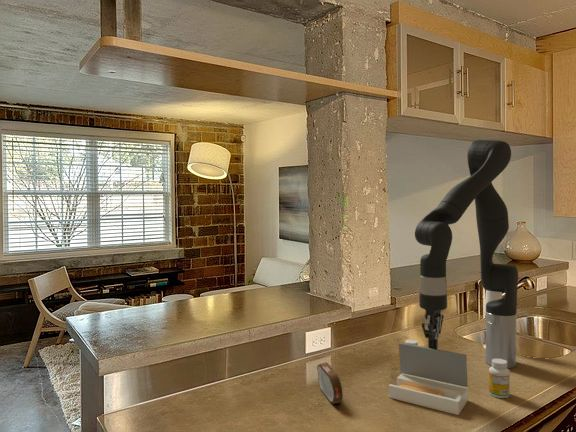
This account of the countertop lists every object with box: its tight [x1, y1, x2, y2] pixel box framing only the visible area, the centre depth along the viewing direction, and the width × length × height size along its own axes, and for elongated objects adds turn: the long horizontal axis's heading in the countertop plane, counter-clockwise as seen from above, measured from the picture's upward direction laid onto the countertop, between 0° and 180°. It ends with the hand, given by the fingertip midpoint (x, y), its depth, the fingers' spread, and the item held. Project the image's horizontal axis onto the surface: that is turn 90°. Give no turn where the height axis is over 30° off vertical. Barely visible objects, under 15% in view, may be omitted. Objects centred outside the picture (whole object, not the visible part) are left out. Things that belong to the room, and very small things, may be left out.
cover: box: [398, 342, 469, 388], centre depth 132 cm, size 10×19×1 cm
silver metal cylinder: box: [483, 290, 503, 349], centre depth 169 cm, size 7×7×24 cm
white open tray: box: [388, 373, 469, 416], centre depth 129 cm, size 10×19×4 cm, turn 55°
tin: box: [316, 361, 344, 405], centre depth 132 cm, size 15×3×8 cm, turn 14°
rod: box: [400, 385, 444, 397], centre depth 129 cm, size 3×13×3 cm, turn 59°
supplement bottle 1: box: [404, 339, 419, 346], centre depth 153 cm, size 5×5×8 cm
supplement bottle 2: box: [488, 359, 511, 399], centre depth 131 cm, size 5×5×10 cm
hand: (433, 351), depth 133 cm, fingers closed
